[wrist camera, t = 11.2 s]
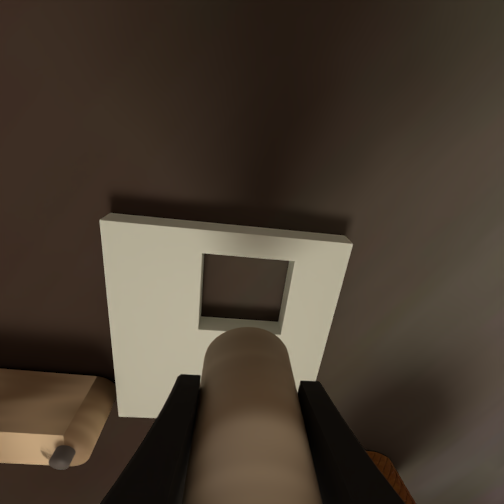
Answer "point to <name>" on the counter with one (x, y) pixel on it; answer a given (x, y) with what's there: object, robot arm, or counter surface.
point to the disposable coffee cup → (391, 475)
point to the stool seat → (190, 299)
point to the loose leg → (249, 426)
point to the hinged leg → (51, 416)
